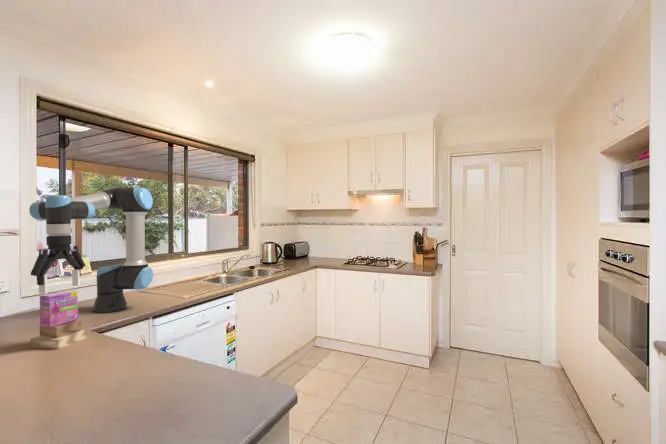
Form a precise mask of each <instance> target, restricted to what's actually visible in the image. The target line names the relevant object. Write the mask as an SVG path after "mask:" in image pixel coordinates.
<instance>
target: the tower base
mask: <svg viewBox="0 0 666 444" xmlns="http://www.w3.org/2000/svg"><path fill="white" fill-rule="evenodd" d="M87 338H88V329H87V328H86V329H83V328H81V331H79V332H75V333H72V334H69V335H66V336H63V337H60V338H50V337H43V336H40V335H37V336H34V337H31V338H30V339H29V340H30V348H35V349H36V348H37V349H53V350H60V349H62V348H65V347H66V346H69V345H72V344H74V343H77V342H80V341H82V340H85V339H87Z"/></svg>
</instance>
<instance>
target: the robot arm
mask: <svg viewBox="0 0 666 444" xmlns="http://www.w3.org/2000/svg"><path fill="white" fill-rule="evenodd" d="M153 201H154V200H153V196H152V194H151V192H150V191H149V189H147V188H145V187H138V186H137V187H136V186H135V187H133V186H132V187H131V186H129V187H114V188H113V187H111V188H107V189H103V190H98V191H95V192H94V193H92V194H86V195H79V196H73V197H70V196H69V195H65V194H63V195H62V194H49V195H47V196H46V197H45V201H42V200H41V201H35V202H34V201H33V203H31V204H30V206H29V208H28V209H29V214H30V216H31V218H33V219H35V220H42V221H44V220H45V221H46V222H45V227H46V228H45V230H46V233H45V234H46V237H45V238H46V239H45V241H46V246H47V248H40V249H39V250H38V255H37V259H36V260H35V262H34V264H33V267H32V269H31V272H30V275H31V276H34V277H36V284H37V286H38V294H42V295H46V294H48V275H46V273H48V271H49V270H50V268H51V267H52V265H53V264H54V262H56V261H57V260H61V259H62V260H63V259H65V261H66V262H67V263H68V264H69V265H70V266H71V267H72V268H73V269H72V270H71V280H72V281H71V283H72V287H74V286H76V287H80V285H81V281H80V280H81V276H82V274H81V270H83V269H84V268H86V264H85V262H84V260H83V257H82V255H81V254H80V252H79V247H78V245H71V244H72V235H71V234H72V220H87V219H88V220H89V219H92V218H93V216H95V213H96V210H100V211H104V210H122V214H124V215H125V261H124V263H123V264H122V263H121V264H120V263H119V264H114V265H113V264H112V265H107V266H102V267H101V266H100V267H99V268H97V270H96V298H95V301H94V303H93V305H92V306H93V307H92V312H94V313H97V314H98V313H99V314H101V313H112V312H119V311H121V310H125V309H127V308H128V302H127V301H126V297H125V294H124V290H134V291H136V290H137V291H138V290H145V289H148V287H149V286H150V285H151V283H152V281H153V277H154V271H153V269H152V267H150V266H149V262H147V261H146V256H145V255H146V252H145V251H146V245H145V242H146V240H145V239H146V238H145V237H146V231H145V230H146V229H145V228H146V227H145V225H146V222H145V221H146V220H145V219H146V217H145V216H146V215H147V214H149V211H148V210H150V209H151V208H152V207H153V204H154V203H153Z"/></svg>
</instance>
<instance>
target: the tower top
mask: <svg viewBox="0 0 666 444" xmlns="http://www.w3.org/2000/svg"><path fill="white" fill-rule="evenodd" d="M81 329H82V320H79V319H78V320H74V321H71V322H67V323H64V324H60V325H57V326H53V327H42V326H40V325H39V336H43V337H50V338H60V337H63V336H66V335H69V334H72V333H75V332H79V331H81Z"/></svg>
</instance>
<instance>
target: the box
mask: <svg viewBox="0 0 666 444" xmlns="http://www.w3.org/2000/svg"><path fill="white" fill-rule="evenodd" d="M78 295H79V294H78V290H76V289H75V290H74V289H73V290H72V289H67V290H62V291H56V292H53V293H47V294H42V295H39V327H40V326H42V327H53V326H57V325H60V324H64V323H67V322H71V321H74V320H79V301H78V300H79V298H78V297H79V296H78Z"/></svg>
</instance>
